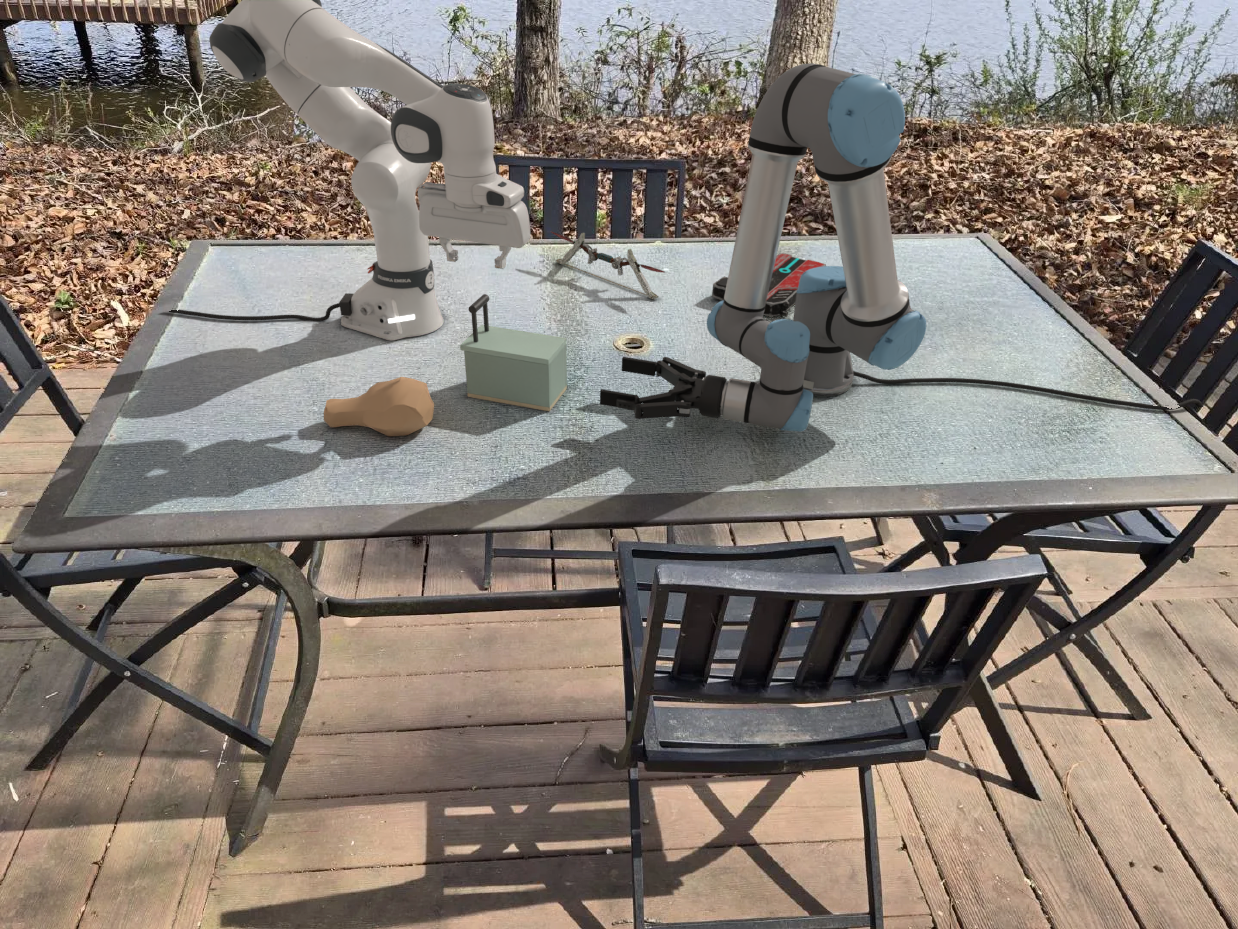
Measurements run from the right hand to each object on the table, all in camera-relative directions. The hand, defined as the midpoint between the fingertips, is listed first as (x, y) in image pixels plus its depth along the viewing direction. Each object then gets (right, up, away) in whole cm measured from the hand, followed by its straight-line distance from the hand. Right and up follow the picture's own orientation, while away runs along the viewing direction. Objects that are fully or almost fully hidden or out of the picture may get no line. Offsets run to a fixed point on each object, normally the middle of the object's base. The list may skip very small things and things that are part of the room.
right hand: (611, 379), depth 163 cm
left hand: (-24, +21, -4) cm, 32 cm away
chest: (-18, -2, +8) cm, 20 cm away
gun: (+39, +27, +54) cm, 71 cm away
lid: (-18, +7, +3) cm, 20 cm away
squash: (-42, -9, -4) cm, 43 cm away
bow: (-2, +30, +57) cm, 64 cm away
